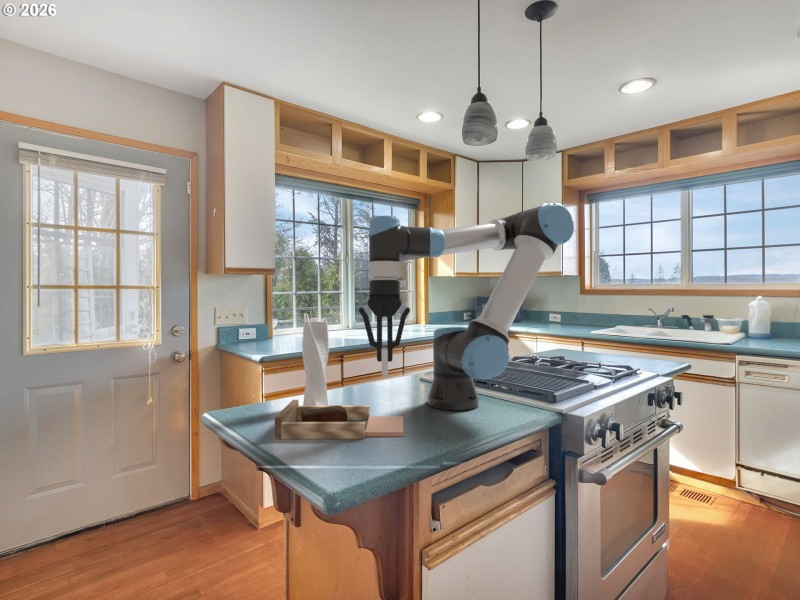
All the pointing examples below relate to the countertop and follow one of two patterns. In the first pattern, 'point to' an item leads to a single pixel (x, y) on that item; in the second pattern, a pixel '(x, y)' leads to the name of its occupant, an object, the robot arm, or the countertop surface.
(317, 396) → the skyscraper
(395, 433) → the tile
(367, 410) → the channel
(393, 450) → the countertop surface
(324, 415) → the brick
